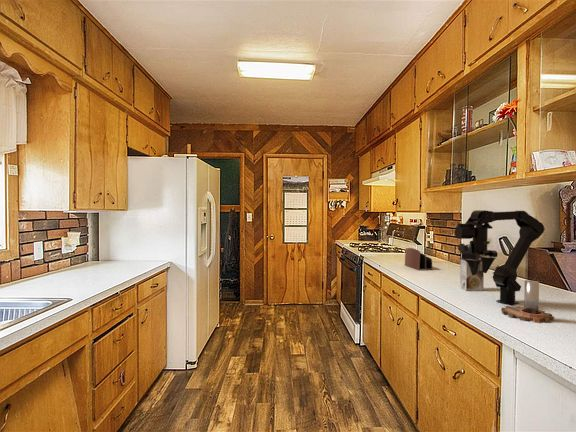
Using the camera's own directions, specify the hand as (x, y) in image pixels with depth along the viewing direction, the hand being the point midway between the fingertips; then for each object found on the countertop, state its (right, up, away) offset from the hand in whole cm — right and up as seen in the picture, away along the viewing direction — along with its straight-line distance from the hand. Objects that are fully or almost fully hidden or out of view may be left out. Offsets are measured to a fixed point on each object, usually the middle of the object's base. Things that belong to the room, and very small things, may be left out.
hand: (479, 274), depth 147 cm
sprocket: (+9, -13, -16) cm, 23 cm away
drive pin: (+8, -12, -20) cm, 25 cm away
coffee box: (+10, -13, +25) cm, 30 cm away
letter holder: (+8, -12, +88) cm, 90 cm away
